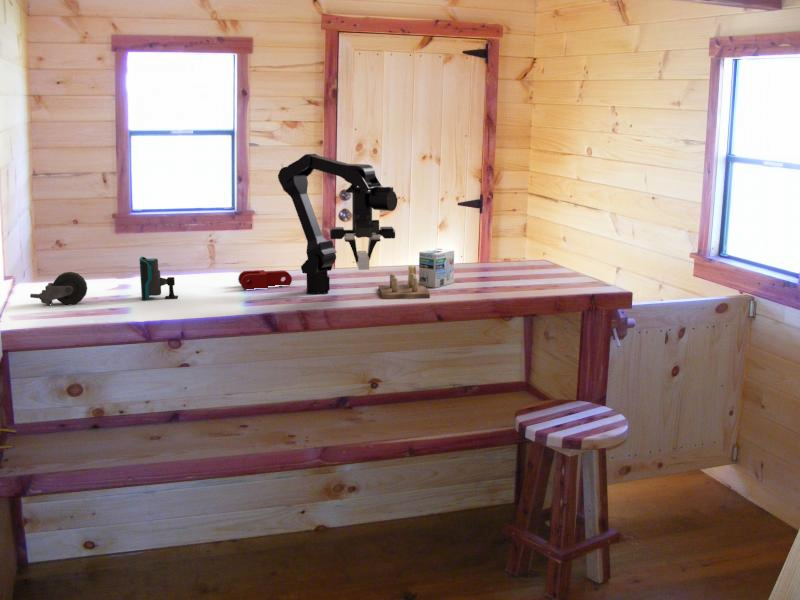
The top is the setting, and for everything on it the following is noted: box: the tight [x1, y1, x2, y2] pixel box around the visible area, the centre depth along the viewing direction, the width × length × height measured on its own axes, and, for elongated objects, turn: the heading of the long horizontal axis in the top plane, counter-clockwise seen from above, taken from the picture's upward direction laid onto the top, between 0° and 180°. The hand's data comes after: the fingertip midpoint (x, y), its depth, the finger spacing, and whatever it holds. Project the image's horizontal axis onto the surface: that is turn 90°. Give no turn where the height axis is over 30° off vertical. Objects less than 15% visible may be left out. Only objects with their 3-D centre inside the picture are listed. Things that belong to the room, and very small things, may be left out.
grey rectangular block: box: [355, 250, 370, 271], centre depth 265 cm, size 12×3×4 cm, turn 7°
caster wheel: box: [30, 271, 88, 307], centre depth 256 cm, size 6×10×15 cm
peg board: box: [378, 273, 431, 299], centre depth 275 cm, size 14×14×5 cm
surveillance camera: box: [139, 256, 179, 301], centre depth 265 cm, size 6×12×10 cm
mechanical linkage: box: [238, 269, 293, 291], centre depth 282 cm, size 16×7×5 cm, turn 107°
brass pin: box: [407, 265, 417, 285], centre depth 287 cm, size 2×2×6 cm
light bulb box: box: [418, 247, 455, 289], centre depth 288 cm, size 11×7×11 cm, turn 143°
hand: (362, 262), depth 266 cm, fingers closed on grey rectangular block, 3 cm apart
